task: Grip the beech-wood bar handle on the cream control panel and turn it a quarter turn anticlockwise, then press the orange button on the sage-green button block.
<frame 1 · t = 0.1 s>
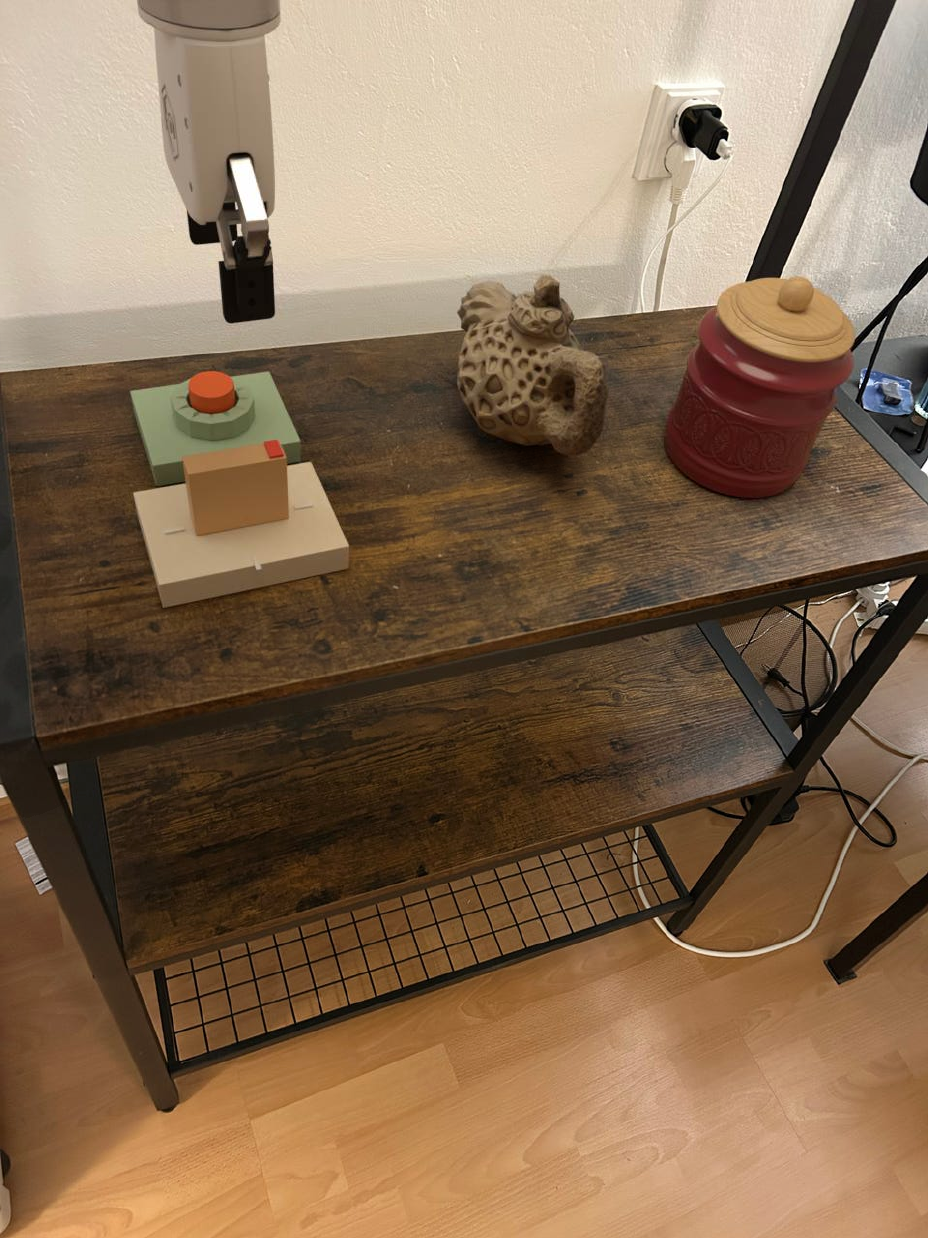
hand: (231, 278, 64), 19 cm above the table, tool pointing down, fingers open, 9 cm apart
handle: (237, 487, 71), point 6 cm above the table, hinge at 0.0°
button: (212, 392, 79), point 5 cm above the table, slide at 0.1 cm
button block: (216, 436, 83), on the table
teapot: (518, 433, 88), on the table
kitchen canister: (730, 455, 89), on the table
panel: (242, 542, 75), on the table
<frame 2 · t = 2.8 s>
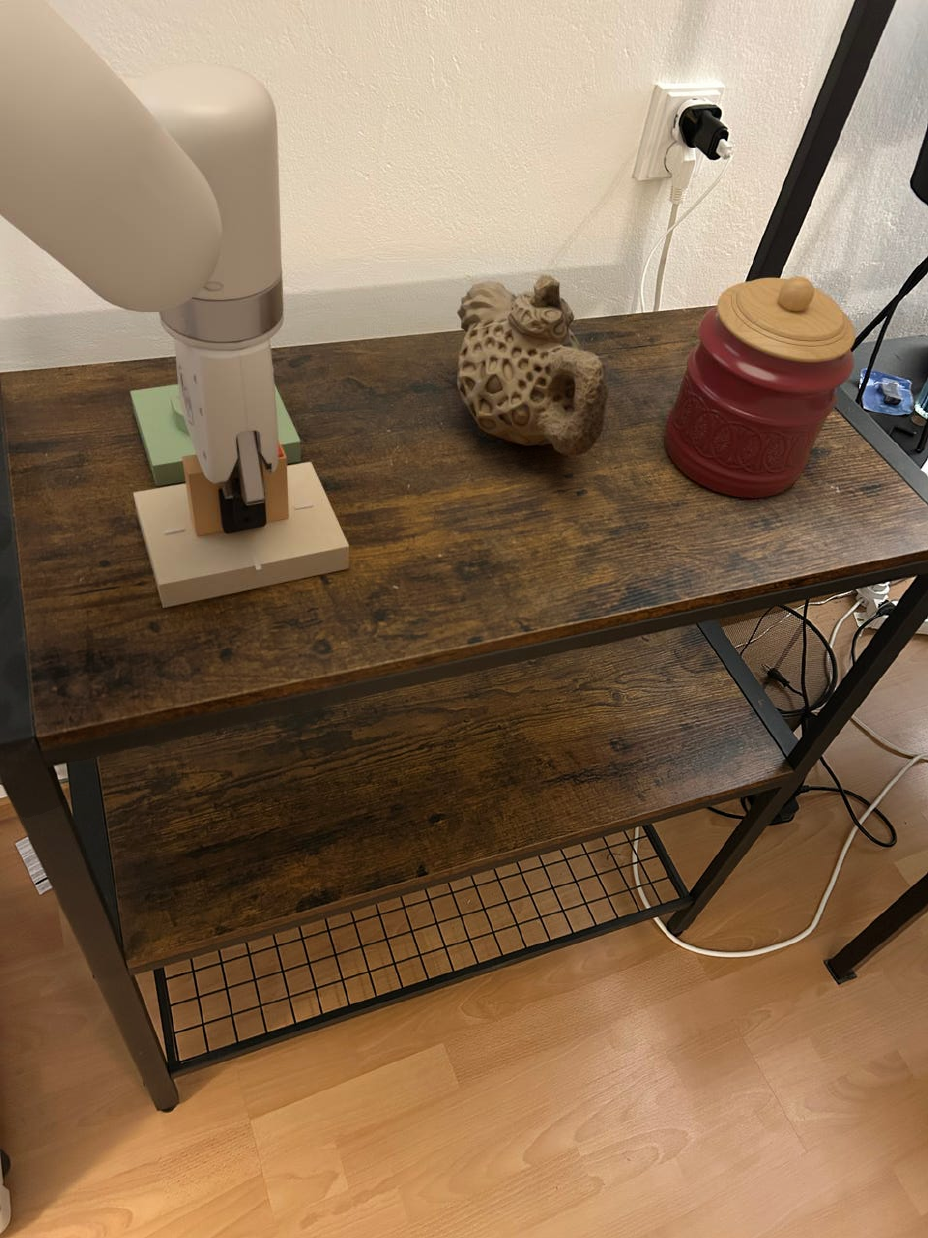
hand: (239, 513, 73), 3 cm above the table, tool pointing down, fingers closed on handle, 2 cm apart
handle: (237, 487, 71), point 6 cm above the table, hinge at 0.0°, touching gripper
everything else where it was.
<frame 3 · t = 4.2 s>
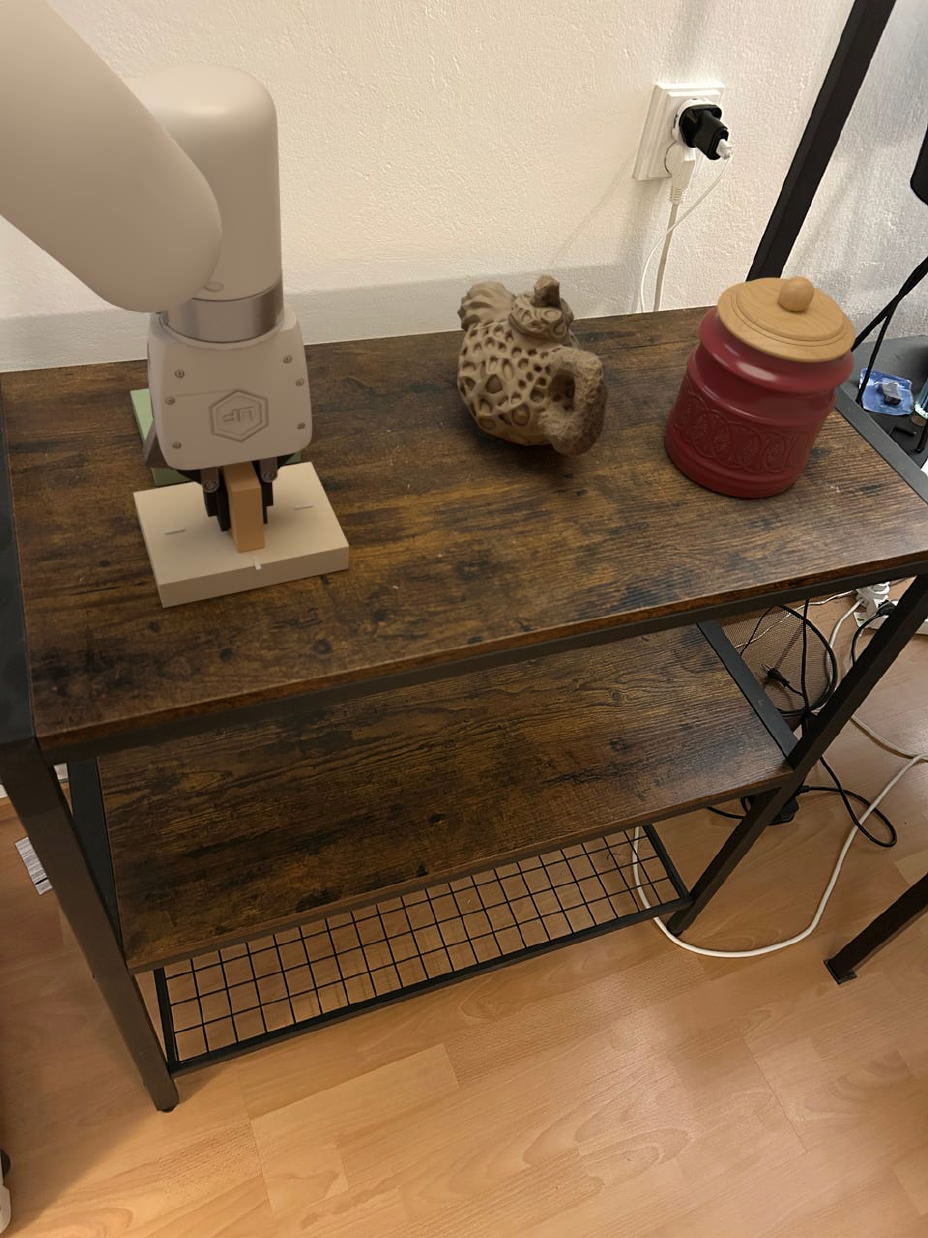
hand: (240, 513, 73), 3 cm above the table, tool pointing down, fingers closed on handle, 2 cm apart
handle: (237, 487, 71), point 6 cm above the table, hinge at 89.5°, touching gripper
everything else where it was.
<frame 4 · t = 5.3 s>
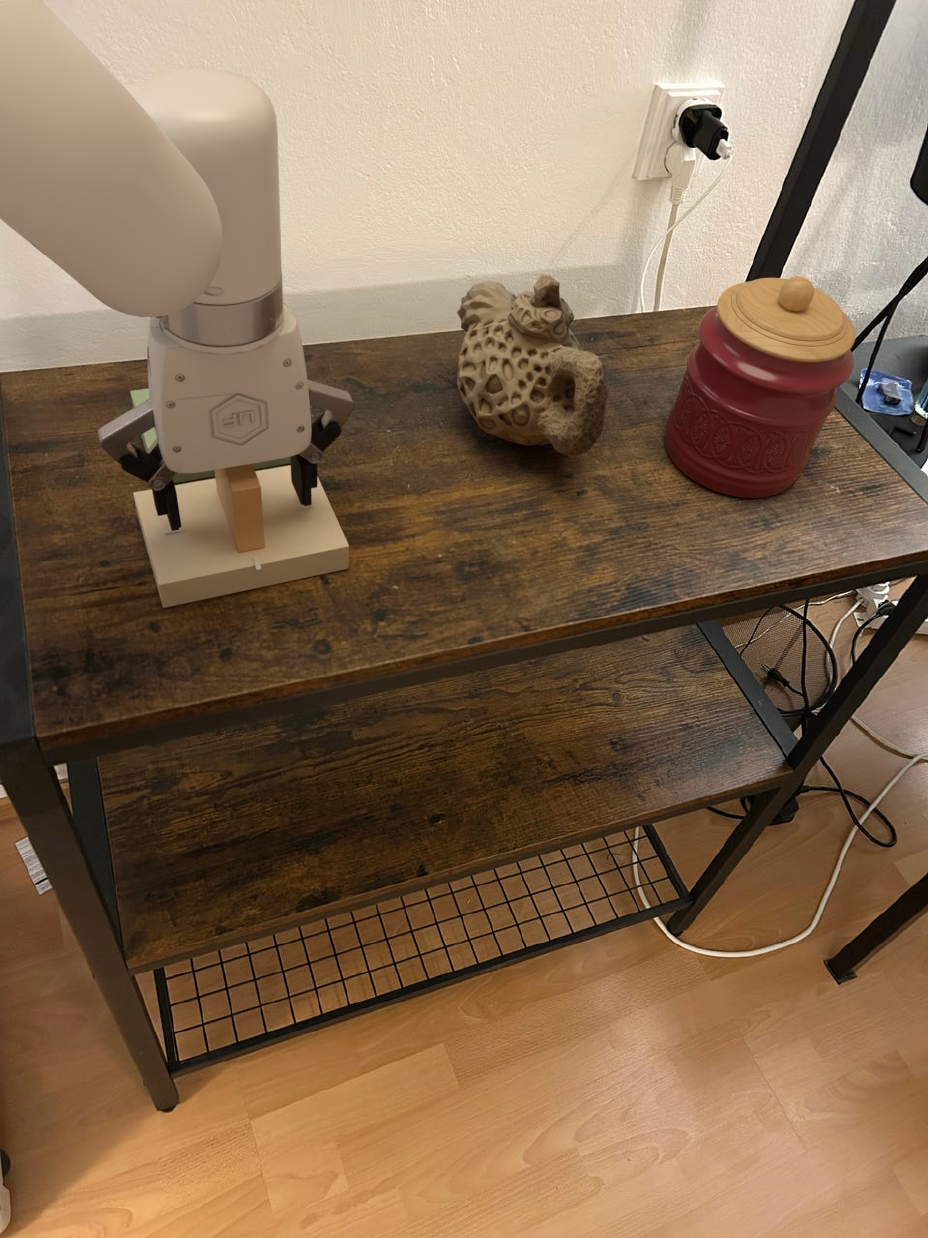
hand: (238, 505, 72), 4 cm above the table, tool pointing down, fingers open, 9 cm apart
handle: (237, 487, 71), point 6 cm above the table, hinge at 89.5°
everything else where it was.
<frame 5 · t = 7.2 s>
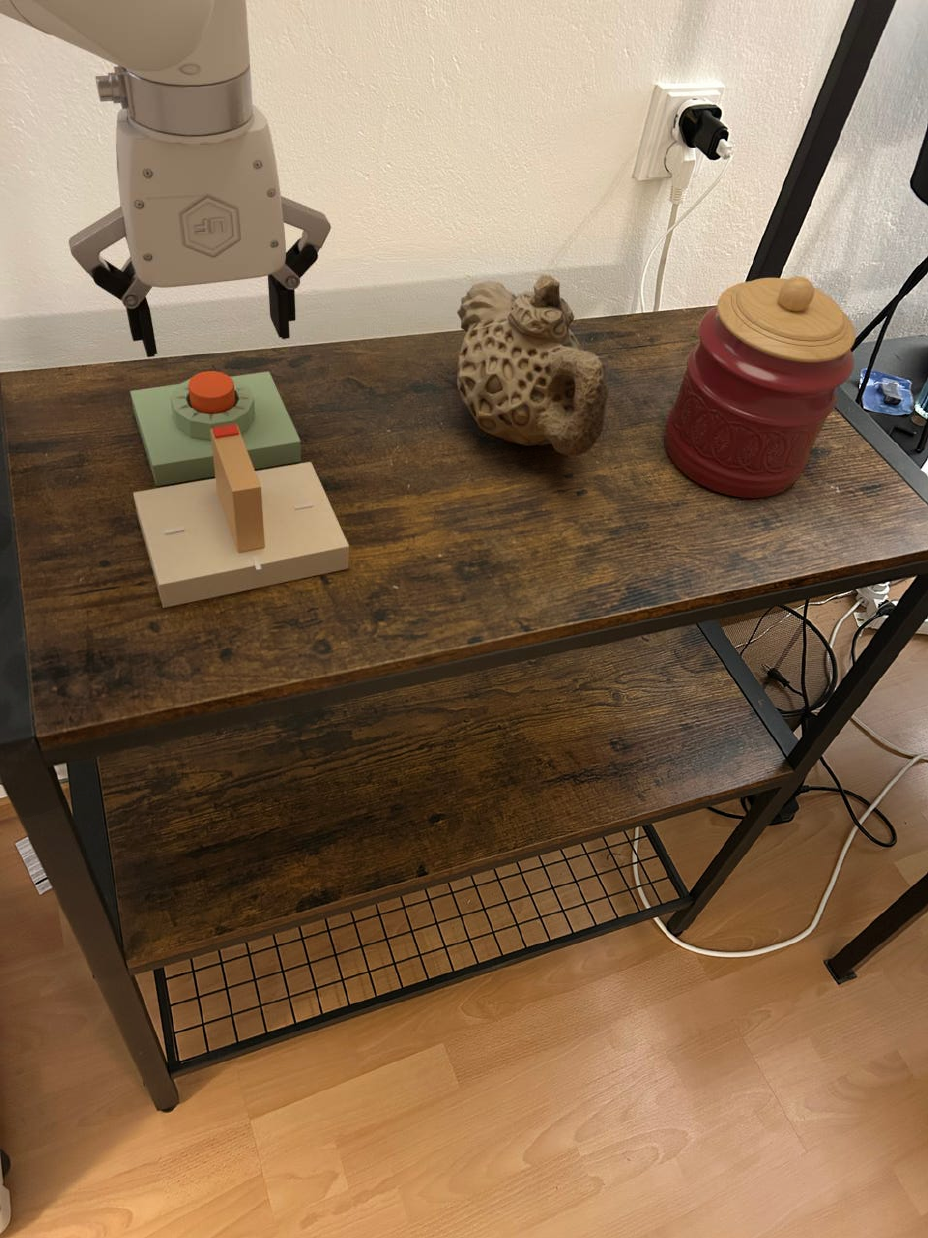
hand: (215, 336, 72), 12 cm above the table, tool pointing down, fingers open, 9 cm apart
nothing on the table moved.
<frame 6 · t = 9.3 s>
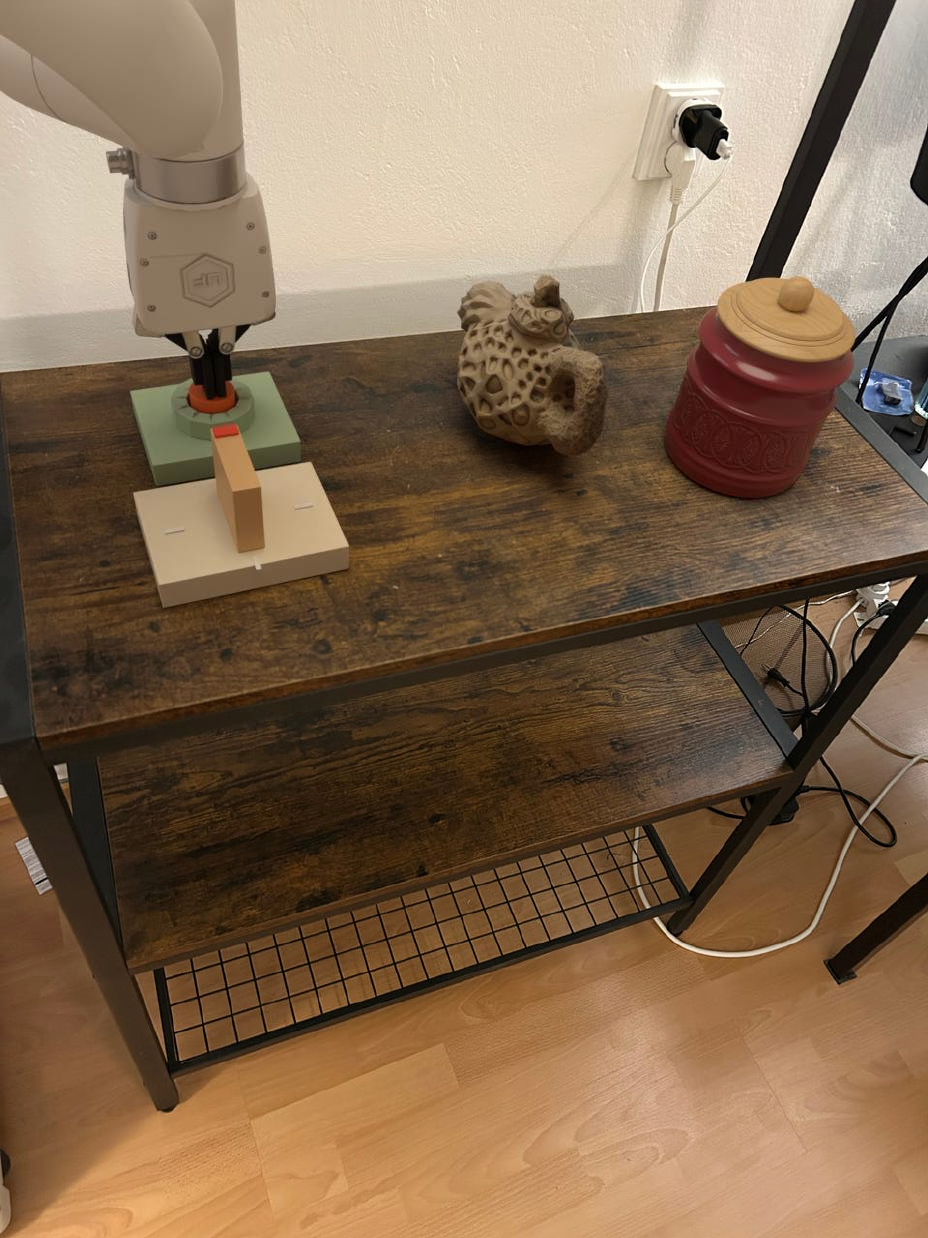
hand: (212, 387, 79), 5 cm above the table, tool pointing down, fingers closed
button: (212, 397, 80), point 4 cm above the table, slide at -0.4 cm, touching gripper
everything else where it was.
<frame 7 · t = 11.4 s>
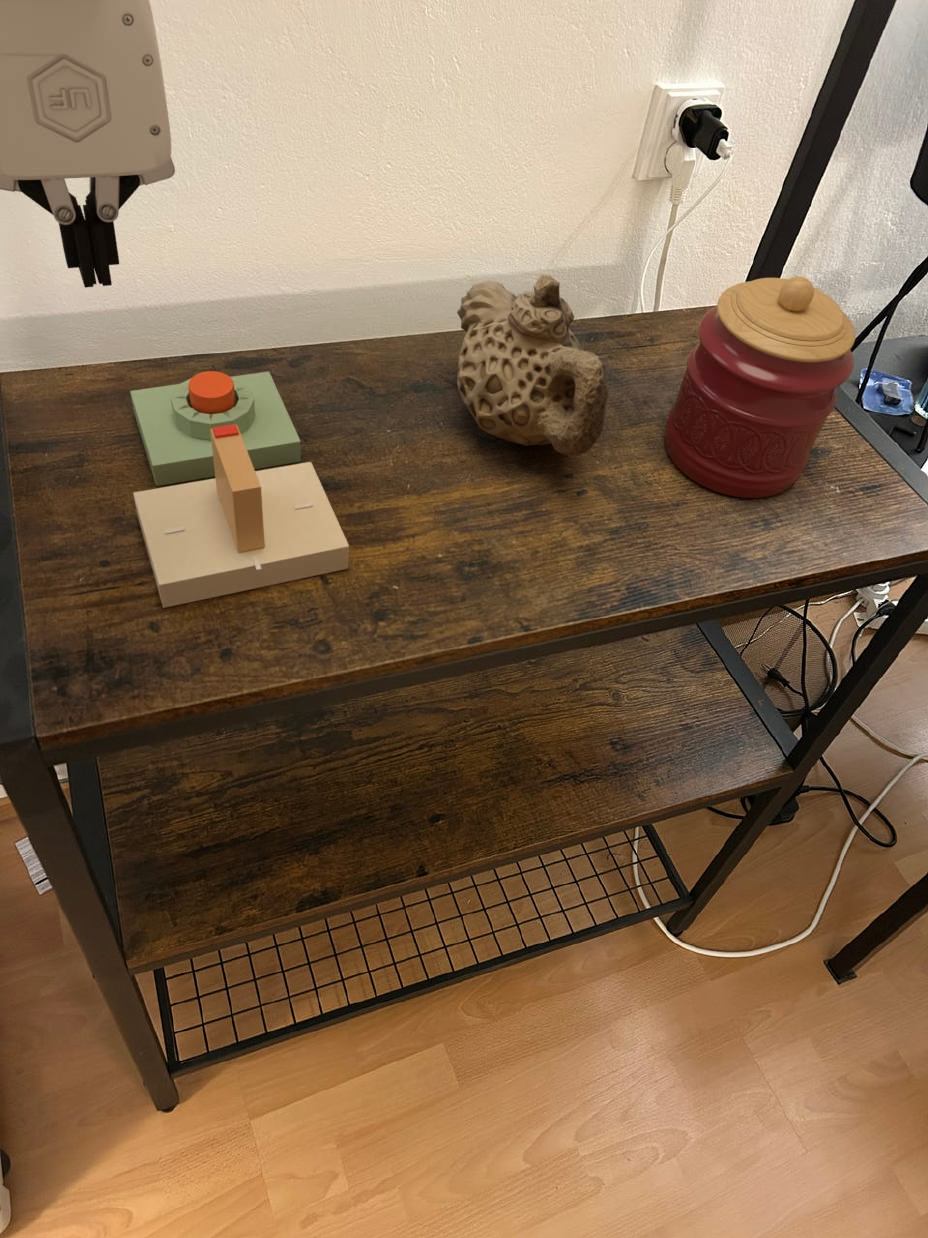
hand: (94, 274, 60), 21 cm above the table, tool pointing down, fingers closed
button: (212, 392, 79), point 5 cm above the table, slide at 0.1 cm
everything else where it was.
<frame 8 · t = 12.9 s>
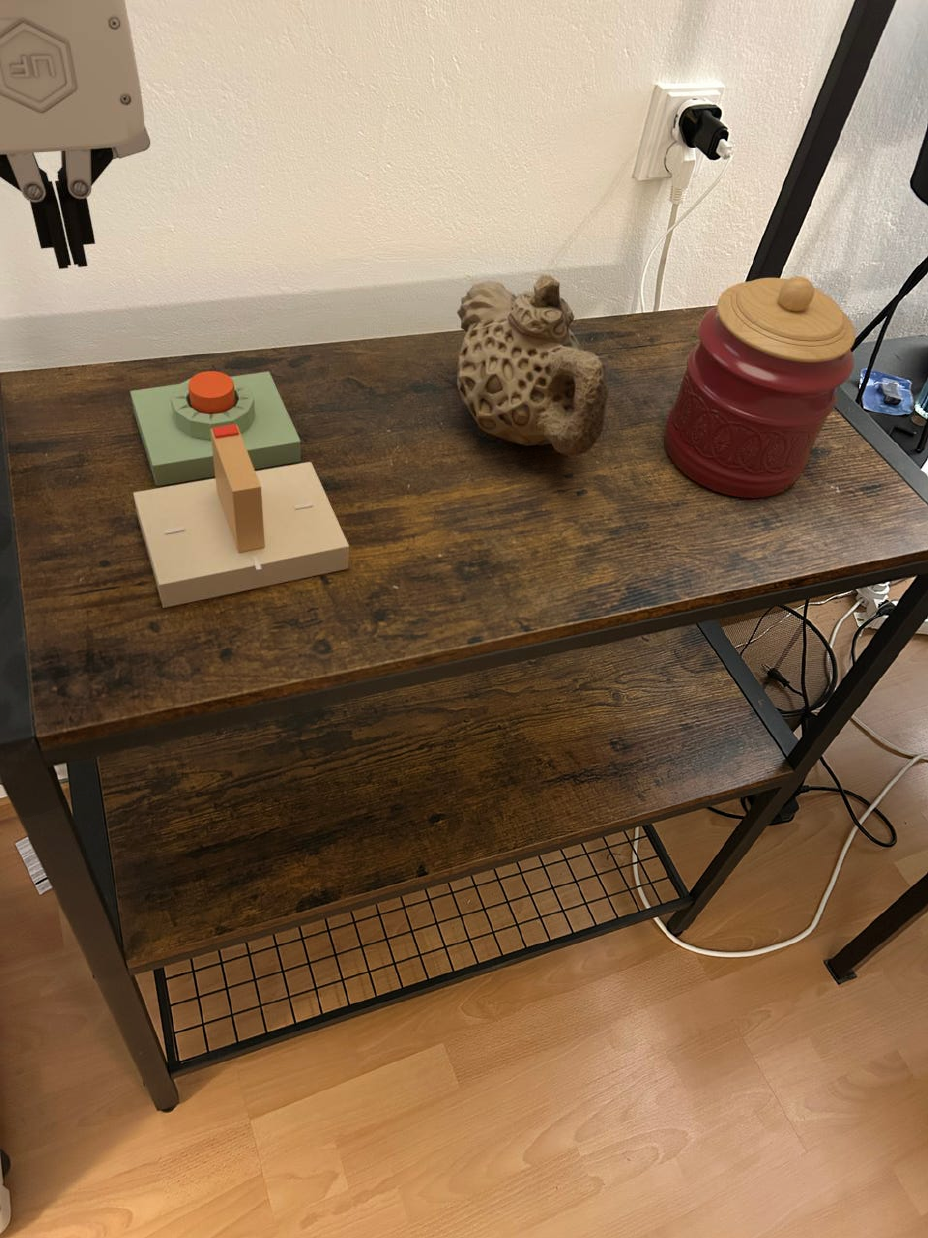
hand: (69, 255, 57), 23 cm above the table, tool pointing down, fingers closed
nothing on the table moved.
at the end: handle at +90° (first picture: +0°); button pushed in 1.1 cm at the most during the clip, back to where it started at the end; button slide at 0.1 cm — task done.
